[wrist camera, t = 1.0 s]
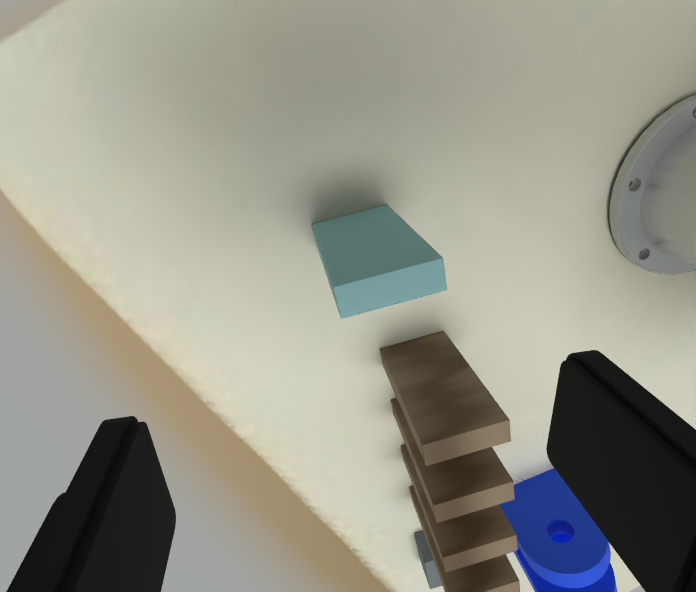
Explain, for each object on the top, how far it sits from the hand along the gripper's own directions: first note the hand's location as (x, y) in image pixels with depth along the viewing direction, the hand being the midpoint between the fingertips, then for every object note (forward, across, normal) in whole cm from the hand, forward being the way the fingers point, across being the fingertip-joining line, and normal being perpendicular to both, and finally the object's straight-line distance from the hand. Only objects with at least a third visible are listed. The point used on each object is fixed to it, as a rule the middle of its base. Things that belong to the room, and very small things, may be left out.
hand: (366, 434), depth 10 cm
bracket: (+21, -24, +30) cm, 44 cm away
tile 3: (+20, -8, +16) cm, 27 cm away
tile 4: (+20, -8, +21) cm, 30 cm away
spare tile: (+20, -3, +1) cm, 20 cm away
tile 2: (+20, -7, +11) cm, 24 cm away
